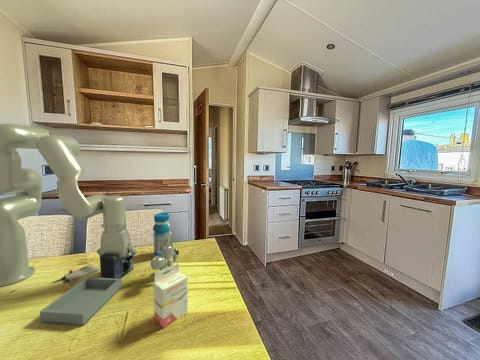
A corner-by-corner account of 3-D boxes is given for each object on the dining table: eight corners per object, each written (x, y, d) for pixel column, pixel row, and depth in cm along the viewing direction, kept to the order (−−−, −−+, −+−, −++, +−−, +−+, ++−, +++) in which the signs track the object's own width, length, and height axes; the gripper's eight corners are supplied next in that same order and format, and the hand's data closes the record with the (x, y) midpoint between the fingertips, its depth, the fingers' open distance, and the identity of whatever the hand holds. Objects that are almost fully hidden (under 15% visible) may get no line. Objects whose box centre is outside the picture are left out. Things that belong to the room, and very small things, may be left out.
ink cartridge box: (163, 329, 58) (161, 280, 56) (154, 320, 61) (152, 273, 59) (188, 311, 64) (187, 267, 62) (179, 304, 67) (178, 261, 66)
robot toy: (161, 290, 74) (160, 250, 72) (147, 287, 76) (145, 248, 74) (183, 269, 88) (182, 235, 87) (170, 266, 90) (169, 233, 88)
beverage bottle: (161, 260, 96) (159, 218, 93) (150, 255, 100) (148, 215, 98) (175, 252, 103) (174, 213, 101) (164, 248, 107) (163, 211, 105)
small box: (114, 284, 78) (113, 257, 76) (100, 281, 79) (98, 255, 78) (134, 269, 88) (133, 245, 87) (121, 267, 89) (119, 244, 88)
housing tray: (41, 322, 60) (39, 311, 59) (88, 285, 76) (87, 277, 76) (83, 325, 59) (82, 314, 58) (121, 287, 75) (121, 278, 75)
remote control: (104, 269, 88) (104, 262, 88) (58, 289, 75) (58, 282, 75) (96, 265, 92) (96, 258, 91) (51, 283, 78) (50, 276, 78)
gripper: (86, 230, 78) (90, 274, 80) (130, 231, 77) (133, 276, 79) (101, 223, 85) (104, 264, 87) (141, 224, 84) (143, 266, 86)
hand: (118, 269), depth 83 cm, fingers closed on small box, 6 cm apart
